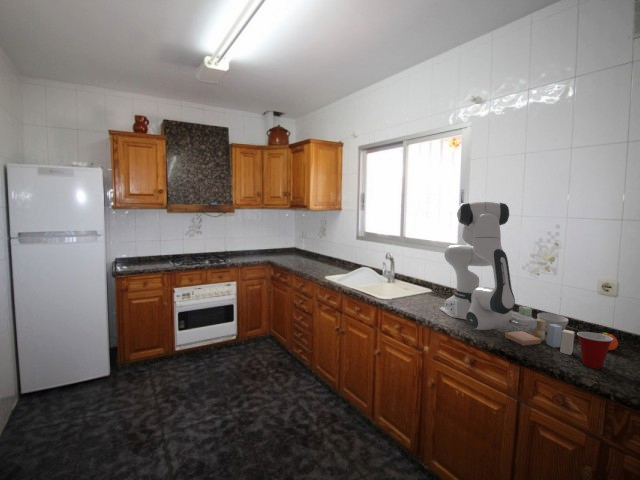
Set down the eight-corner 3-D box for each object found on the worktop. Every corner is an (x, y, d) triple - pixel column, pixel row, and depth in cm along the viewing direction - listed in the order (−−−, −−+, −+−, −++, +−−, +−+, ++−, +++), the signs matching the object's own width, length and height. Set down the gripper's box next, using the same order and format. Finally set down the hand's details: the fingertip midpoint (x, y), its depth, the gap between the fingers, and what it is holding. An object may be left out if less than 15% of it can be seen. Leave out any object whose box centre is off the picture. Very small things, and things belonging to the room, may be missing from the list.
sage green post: (517, 326, 155) (519, 306, 154) (523, 325, 156) (525, 306, 155) (524, 328, 152) (525, 308, 151) (530, 328, 153) (531, 308, 152)
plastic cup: (590, 358, 137) (593, 329, 136) (617, 371, 127) (621, 339, 126) (566, 359, 136) (569, 330, 135) (592, 372, 125) (595, 340, 124)
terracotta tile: (504, 336, 158) (505, 332, 158) (521, 335, 161) (522, 331, 161) (523, 345, 149) (523, 341, 148) (540, 343, 151) (541, 339, 151)
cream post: (559, 352, 143) (562, 331, 142) (562, 350, 145) (564, 329, 144) (570, 355, 140) (572, 333, 139) (572, 352, 142) (574, 331, 141)
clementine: (589, 345, 151) (591, 329, 151) (604, 345, 152) (606, 329, 151) (606, 352, 143) (607, 336, 143) (621, 352, 144) (623, 336, 143)
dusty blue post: (546, 344, 151) (548, 324, 150) (553, 343, 152) (555, 324, 151) (552, 347, 148) (554, 327, 147) (560, 347, 148) (562, 326, 147)
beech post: (532, 338, 157) (533, 319, 156) (536, 337, 159) (537, 318, 158) (540, 341, 154) (542, 322, 153) (544, 340, 156) (546, 320, 155)
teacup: (555, 338, 158) (557, 322, 157) (529, 329, 169) (531, 313, 168) (576, 334, 164) (577, 318, 163) (549, 326, 175) (551, 310, 174)
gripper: (522, 318, 140) (548, 316, 144) (484, 304, 159) (508, 303, 163) (520, 333, 140) (546, 330, 144) (483, 317, 160) (507, 316, 164)
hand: (526, 316), depth 154 cm, fingers closed on sage green post, 3 cm apart
